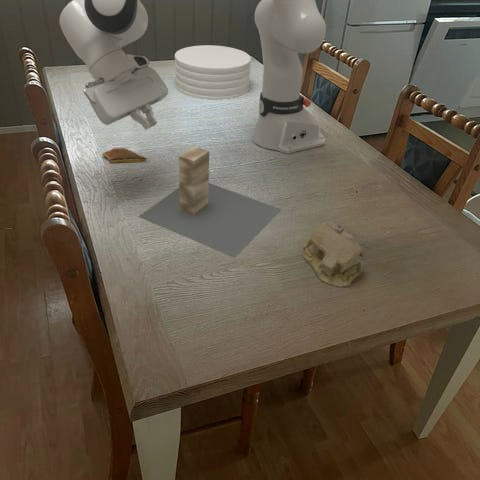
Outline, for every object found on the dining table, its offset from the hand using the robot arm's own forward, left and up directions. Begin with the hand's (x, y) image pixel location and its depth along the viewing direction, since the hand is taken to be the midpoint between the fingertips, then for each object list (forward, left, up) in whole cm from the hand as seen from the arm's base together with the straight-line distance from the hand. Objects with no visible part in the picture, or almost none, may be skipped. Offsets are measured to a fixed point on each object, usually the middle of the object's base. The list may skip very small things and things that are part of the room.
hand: (151, 126), depth 105 cm
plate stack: (-36, -70, -18) cm, 81 cm away
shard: (+4, -21, -18) cm, 28 cm away
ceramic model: (-30, +37, -18) cm, 50 cm away
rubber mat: (-11, +13, -18) cm, 24 cm away
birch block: (-7, +9, -17) cm, 21 cm away
